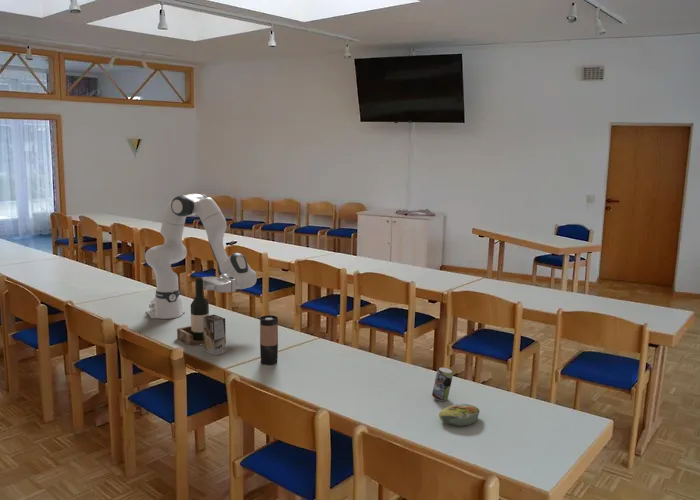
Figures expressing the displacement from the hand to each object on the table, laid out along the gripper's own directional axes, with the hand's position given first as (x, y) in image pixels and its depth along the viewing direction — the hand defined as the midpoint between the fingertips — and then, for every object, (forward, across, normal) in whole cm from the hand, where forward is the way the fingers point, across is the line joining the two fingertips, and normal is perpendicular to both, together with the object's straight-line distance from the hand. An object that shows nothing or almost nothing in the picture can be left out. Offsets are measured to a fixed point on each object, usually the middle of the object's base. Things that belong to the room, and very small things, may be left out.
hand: (200, 286), depth 290 cm
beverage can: (-39, +117, +27) cm, 126 cm away
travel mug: (-9, +45, +26) cm, 53 cm away
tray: (+1, -1, +26) cm, 26 cm away
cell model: (-30, +133, +27) cm, 139 cm away
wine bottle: (0, 0, +26) cm, 26 cm away
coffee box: (+3, +19, +26) cm, 33 cm away
